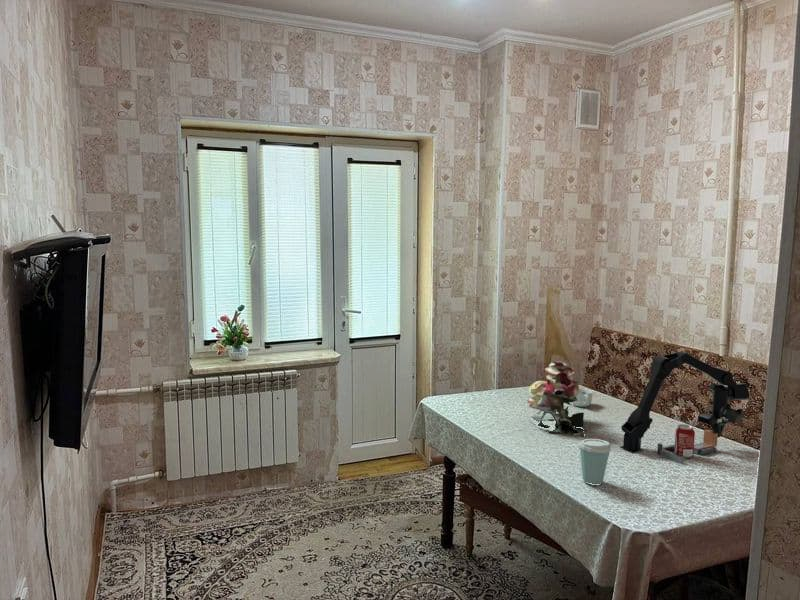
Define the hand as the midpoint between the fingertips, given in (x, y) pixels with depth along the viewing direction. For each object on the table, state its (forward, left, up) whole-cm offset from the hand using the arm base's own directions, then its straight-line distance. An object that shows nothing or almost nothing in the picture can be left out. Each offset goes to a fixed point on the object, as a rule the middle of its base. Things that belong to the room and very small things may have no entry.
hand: (717, 437), depth 236 cm
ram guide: (-9, 0, -5) cm, 10 cm away
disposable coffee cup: (-70, -3, -5) cm, 70 cm away
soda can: (-20, 0, -5) cm, 20 cm away
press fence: (-22, 0, -5) cm, 22 cm away
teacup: (-9, +68, -5) cm, 69 cm away
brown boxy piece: (-9, 0, -5) cm, 10 cm away
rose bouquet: (-41, +50, -5) cm, 65 cm away
